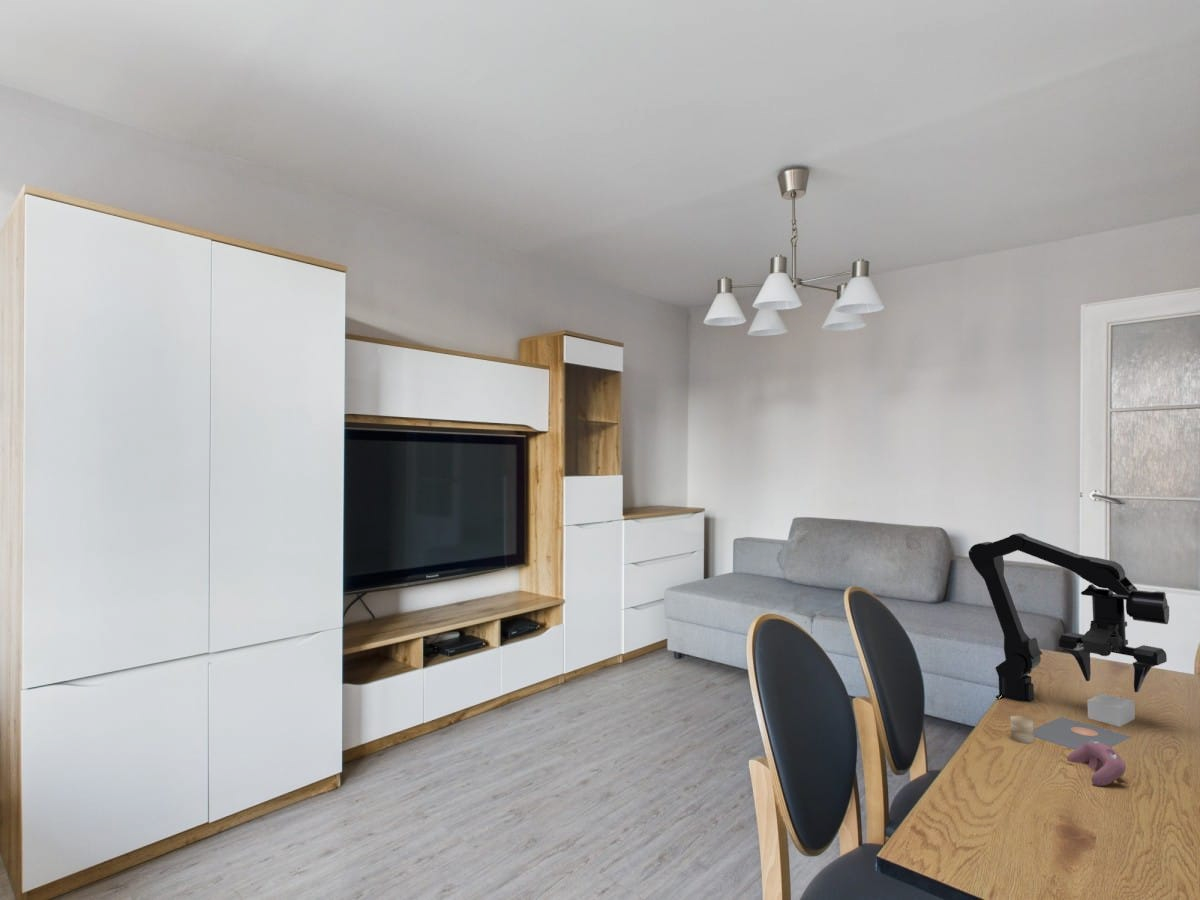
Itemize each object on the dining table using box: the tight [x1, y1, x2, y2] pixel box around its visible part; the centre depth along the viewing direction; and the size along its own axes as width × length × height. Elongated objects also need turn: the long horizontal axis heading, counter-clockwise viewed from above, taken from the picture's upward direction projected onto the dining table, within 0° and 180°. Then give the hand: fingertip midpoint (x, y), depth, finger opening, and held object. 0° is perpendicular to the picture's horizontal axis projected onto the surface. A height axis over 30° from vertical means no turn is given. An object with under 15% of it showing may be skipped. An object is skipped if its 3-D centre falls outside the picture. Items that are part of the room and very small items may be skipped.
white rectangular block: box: [1086, 693, 1136, 728], centre depth 146 cm, size 6×8×5 cm
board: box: [1033, 716, 1132, 751], centre depth 137 cm, size 13×17×1 cm
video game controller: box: [1066, 740, 1127, 787], centre depth 121 cm, size 10×5×7 cm, turn 170°
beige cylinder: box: [1010, 715, 1035, 744], centre depth 135 cm, size 4×4×5 cm
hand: (1111, 686), depth 146 cm, fingers open, 9 cm apart
